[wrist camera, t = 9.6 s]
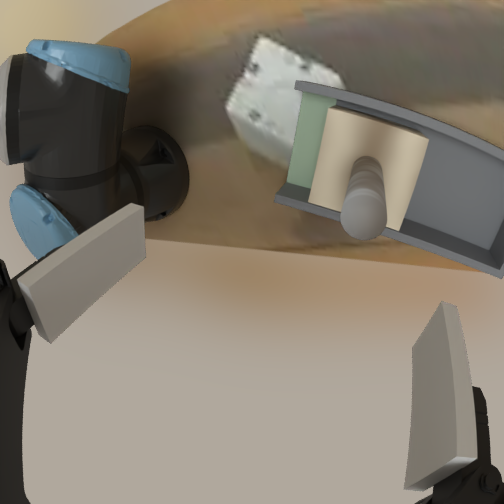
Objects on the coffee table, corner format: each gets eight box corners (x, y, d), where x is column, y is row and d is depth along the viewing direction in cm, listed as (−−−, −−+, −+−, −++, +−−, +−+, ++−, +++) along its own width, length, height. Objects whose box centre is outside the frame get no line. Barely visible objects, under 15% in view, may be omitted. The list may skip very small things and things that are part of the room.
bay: (287, 186, 41) (274, 202, 36) (307, 81, 33) (295, 80, 28) (489, 255, 34) (501, 279, 29) (527, 162, 27) (547, 175, 22)
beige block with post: (318, 183, 38) (274, 260, 23) (335, 105, 33) (302, 119, 17) (395, 207, 36) (405, 302, 20) (418, 130, 30) (462, 170, 15)
